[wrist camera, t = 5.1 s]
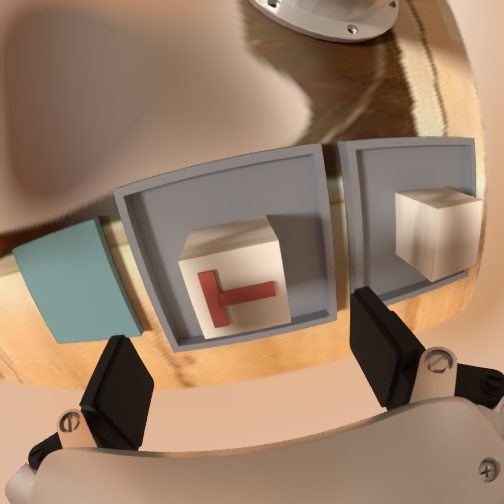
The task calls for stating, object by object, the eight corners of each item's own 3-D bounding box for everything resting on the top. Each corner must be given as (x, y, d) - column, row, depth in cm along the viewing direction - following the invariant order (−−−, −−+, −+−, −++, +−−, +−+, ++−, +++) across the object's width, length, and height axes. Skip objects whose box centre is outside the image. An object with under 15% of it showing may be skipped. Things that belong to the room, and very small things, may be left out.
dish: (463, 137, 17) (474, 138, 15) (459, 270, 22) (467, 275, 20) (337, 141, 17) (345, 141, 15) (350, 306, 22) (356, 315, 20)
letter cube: (265, 214, 18) (279, 241, 13) (277, 281, 20) (291, 324, 15) (190, 230, 18) (177, 263, 13) (209, 295, 20) (204, 341, 15)
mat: (98, 216, 17) (93, 219, 16) (143, 330, 21) (141, 336, 20) (17, 246, 17) (11, 250, 16) (61, 338, 21) (57, 343, 20)
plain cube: (440, 185, 18) (482, 200, 13) (438, 241, 20) (475, 264, 15) (394, 192, 18) (437, 209, 13) (395, 253, 20) (431, 282, 15)
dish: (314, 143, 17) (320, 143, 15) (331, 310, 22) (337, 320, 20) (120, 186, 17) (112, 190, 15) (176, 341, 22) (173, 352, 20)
